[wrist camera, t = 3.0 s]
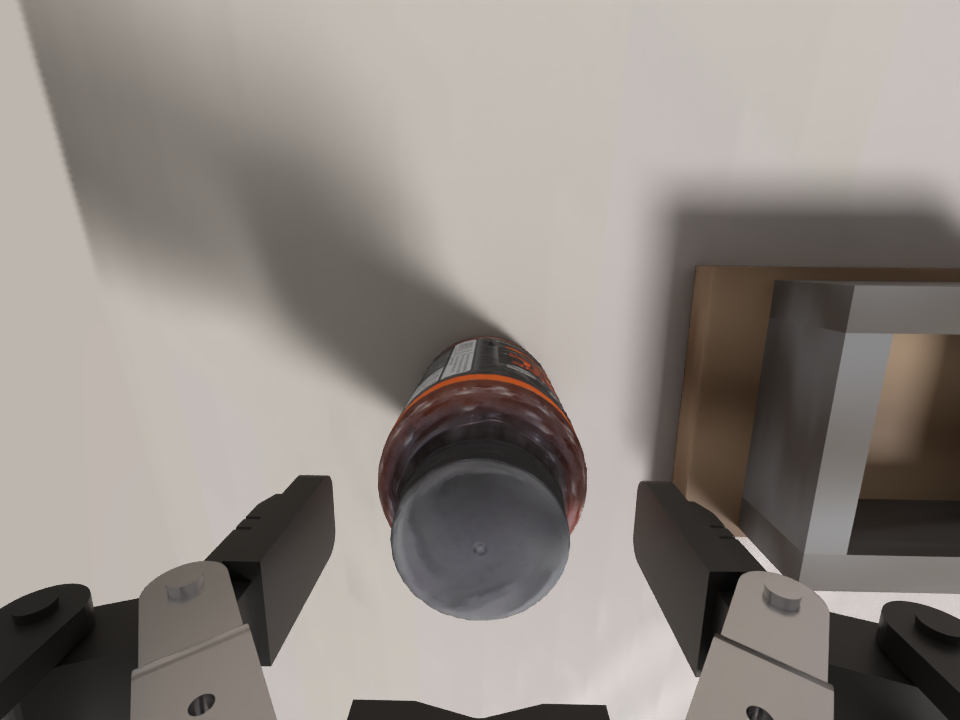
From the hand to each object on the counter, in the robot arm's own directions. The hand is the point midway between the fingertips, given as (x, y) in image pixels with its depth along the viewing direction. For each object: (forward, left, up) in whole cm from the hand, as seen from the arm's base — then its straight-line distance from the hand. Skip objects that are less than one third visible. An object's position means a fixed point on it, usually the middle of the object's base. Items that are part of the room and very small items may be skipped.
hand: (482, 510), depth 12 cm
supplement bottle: (0, 0, -10) cm, 10 cm away
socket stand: (0, +17, -9) cm, 19 cm away
